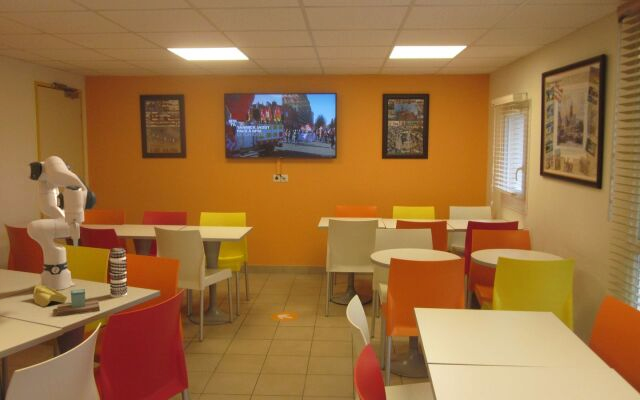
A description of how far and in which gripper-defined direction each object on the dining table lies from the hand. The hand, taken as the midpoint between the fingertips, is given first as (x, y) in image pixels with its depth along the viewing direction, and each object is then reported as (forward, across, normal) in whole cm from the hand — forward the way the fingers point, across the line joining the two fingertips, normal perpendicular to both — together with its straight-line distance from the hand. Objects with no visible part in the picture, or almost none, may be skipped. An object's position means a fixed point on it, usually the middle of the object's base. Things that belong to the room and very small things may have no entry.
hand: (75, 245), depth 252 cm
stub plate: (+29, -13, 0) cm, 32 cm away
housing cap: (+27, -13, 0) cm, 30 cm away
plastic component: (+30, +8, +13) cm, 33 cm away
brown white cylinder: (+29, +5, -20) cm, 36 cm away
